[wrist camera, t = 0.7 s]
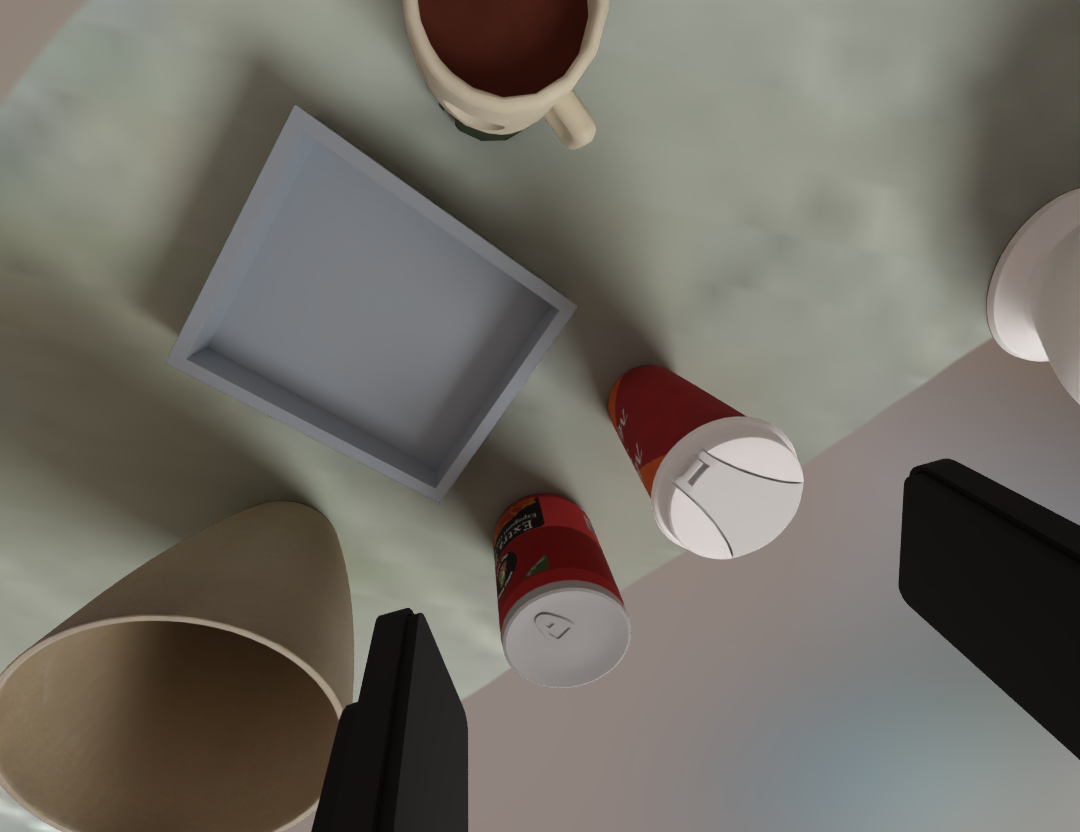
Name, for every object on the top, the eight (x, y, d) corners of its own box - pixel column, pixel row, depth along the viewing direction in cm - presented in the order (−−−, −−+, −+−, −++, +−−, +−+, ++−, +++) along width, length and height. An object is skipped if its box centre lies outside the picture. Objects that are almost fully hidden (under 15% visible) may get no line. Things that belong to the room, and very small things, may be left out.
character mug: (370, 36, 28) (299, -95, 16) (468, -68, 27) (472, -292, 15) (507, 204, 32) (533, 202, 20) (597, 119, 31) (682, 62, 19)
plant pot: (424, 581, 41) (401, 790, 26) (246, 647, 41) (124, 891, 26) (334, 417, 35) (240, 568, 20) (127, 494, 35) (-115, 698, 20)
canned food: (518, 476, 39) (537, 571, 29) (609, 511, 41) (657, 611, 31) (475, 556, 41) (479, 671, 31) (564, 585, 43) (595, 701, 33)
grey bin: (314, 116, 29) (294, 104, 25) (567, 297, 34) (578, 306, 31) (195, 347, 32) (165, 363, 29) (441, 478, 38) (439, 503, 35)
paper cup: (571, 415, 37) (627, 524, 24) (638, 328, 36) (737, 396, 23) (651, 467, 40) (740, 591, 27) (717, 388, 38) (847, 480, 25)
